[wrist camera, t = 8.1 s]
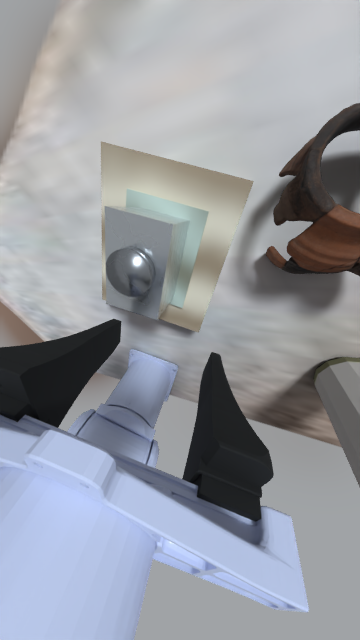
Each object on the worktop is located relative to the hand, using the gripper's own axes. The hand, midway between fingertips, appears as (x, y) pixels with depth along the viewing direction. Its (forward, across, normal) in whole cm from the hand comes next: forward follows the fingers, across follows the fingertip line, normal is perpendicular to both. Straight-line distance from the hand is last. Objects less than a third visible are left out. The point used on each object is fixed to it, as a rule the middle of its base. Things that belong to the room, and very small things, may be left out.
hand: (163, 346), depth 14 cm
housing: (+6, +4, -5) cm, 9 cm away
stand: (+10, +4, -5) cm, 11 cm away
